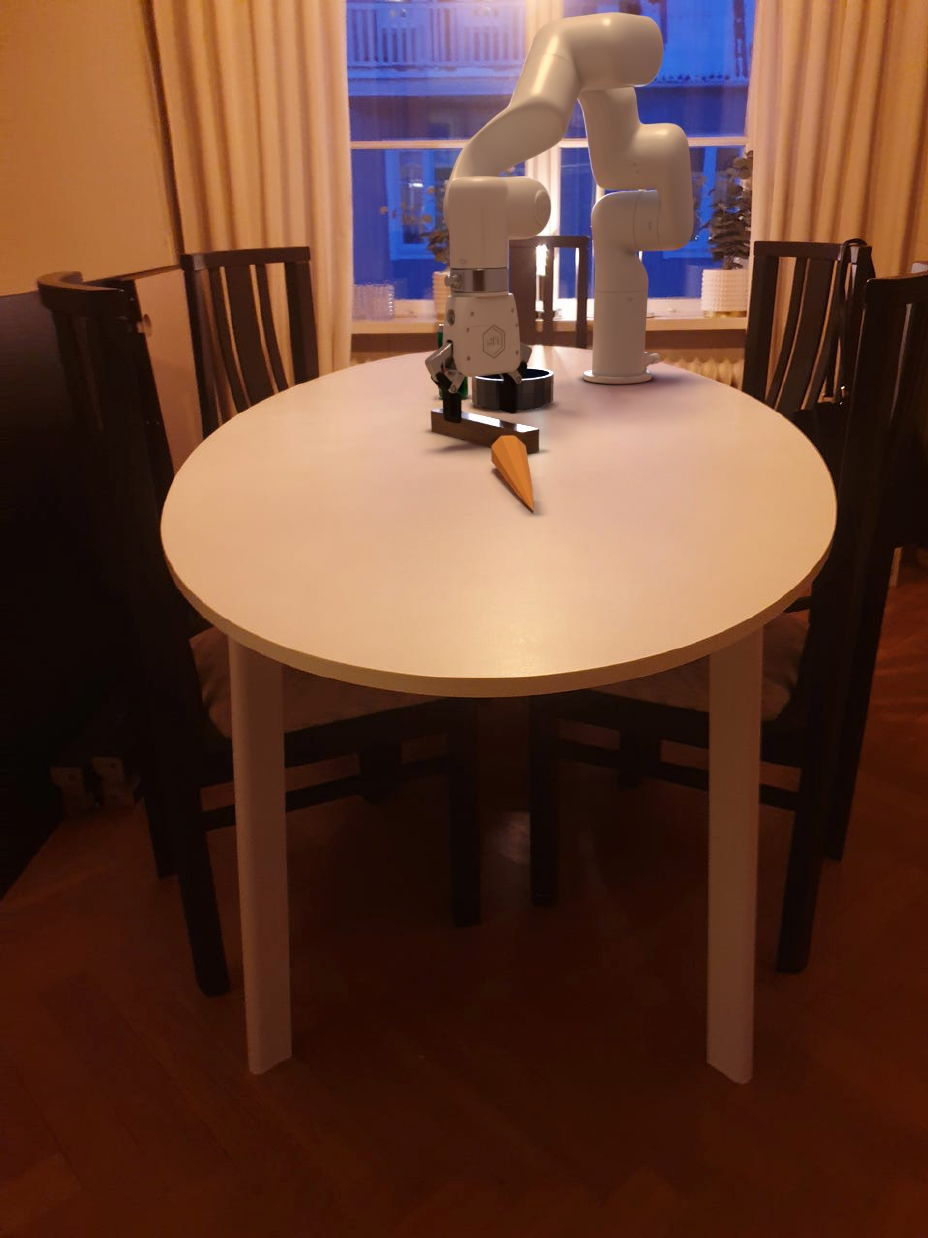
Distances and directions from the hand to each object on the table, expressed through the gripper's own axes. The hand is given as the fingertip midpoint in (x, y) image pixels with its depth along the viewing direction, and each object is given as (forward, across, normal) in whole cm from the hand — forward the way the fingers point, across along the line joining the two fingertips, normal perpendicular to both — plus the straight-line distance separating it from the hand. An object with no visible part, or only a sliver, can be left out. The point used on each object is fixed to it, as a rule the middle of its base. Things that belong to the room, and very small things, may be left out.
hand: (481, 416), depth 123 cm
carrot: (+4, -12, -21) cm, 24 cm away
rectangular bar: (+3, 0, 0) cm, 3 cm away
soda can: (+3, +17, +29) cm, 34 cm away
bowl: (+3, +20, +17) cm, 27 cm away
